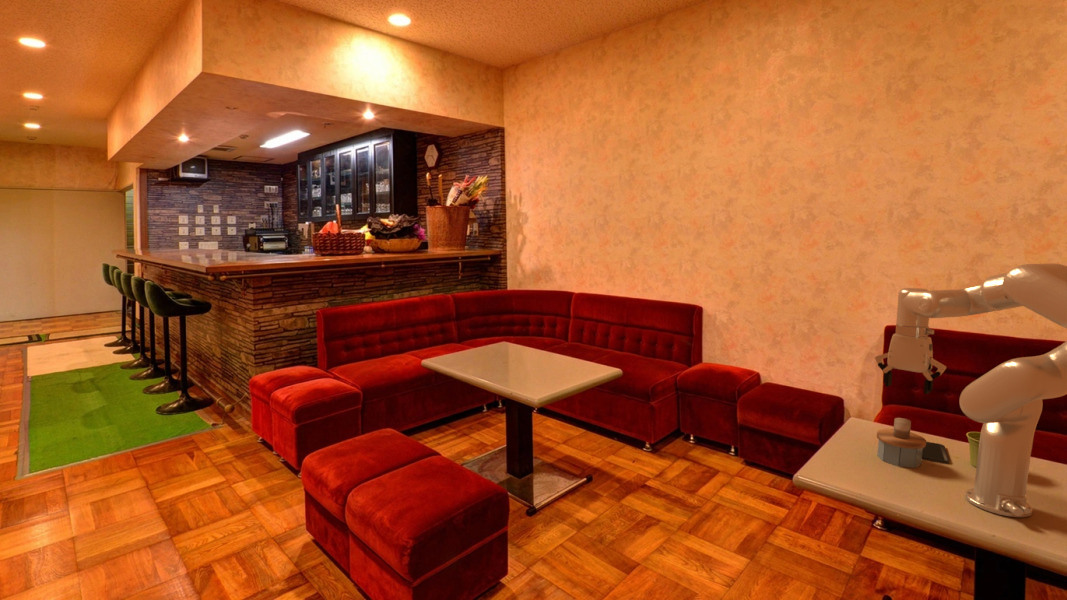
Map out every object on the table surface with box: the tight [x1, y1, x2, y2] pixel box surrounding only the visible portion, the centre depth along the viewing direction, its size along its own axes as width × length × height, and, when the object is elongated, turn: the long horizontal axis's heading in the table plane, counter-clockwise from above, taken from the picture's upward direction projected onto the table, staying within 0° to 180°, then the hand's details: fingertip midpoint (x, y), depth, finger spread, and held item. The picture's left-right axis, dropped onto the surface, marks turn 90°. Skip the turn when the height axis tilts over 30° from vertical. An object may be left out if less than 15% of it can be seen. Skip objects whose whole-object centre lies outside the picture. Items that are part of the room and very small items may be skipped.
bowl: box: [877, 439, 923, 469], centre depth 158 cm, size 10×10×6 cm
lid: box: [876, 417, 927, 449], centre depth 157 cm, size 12×12×6 cm
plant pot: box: [965, 431, 981, 468], centre depth 153 cm, size 9×9×9 cm
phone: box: [922, 441, 950, 465], centre depth 163 cm, size 8×1×15 cm
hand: (907, 389), depth 155 cm, fingers open, 9 cm apart
